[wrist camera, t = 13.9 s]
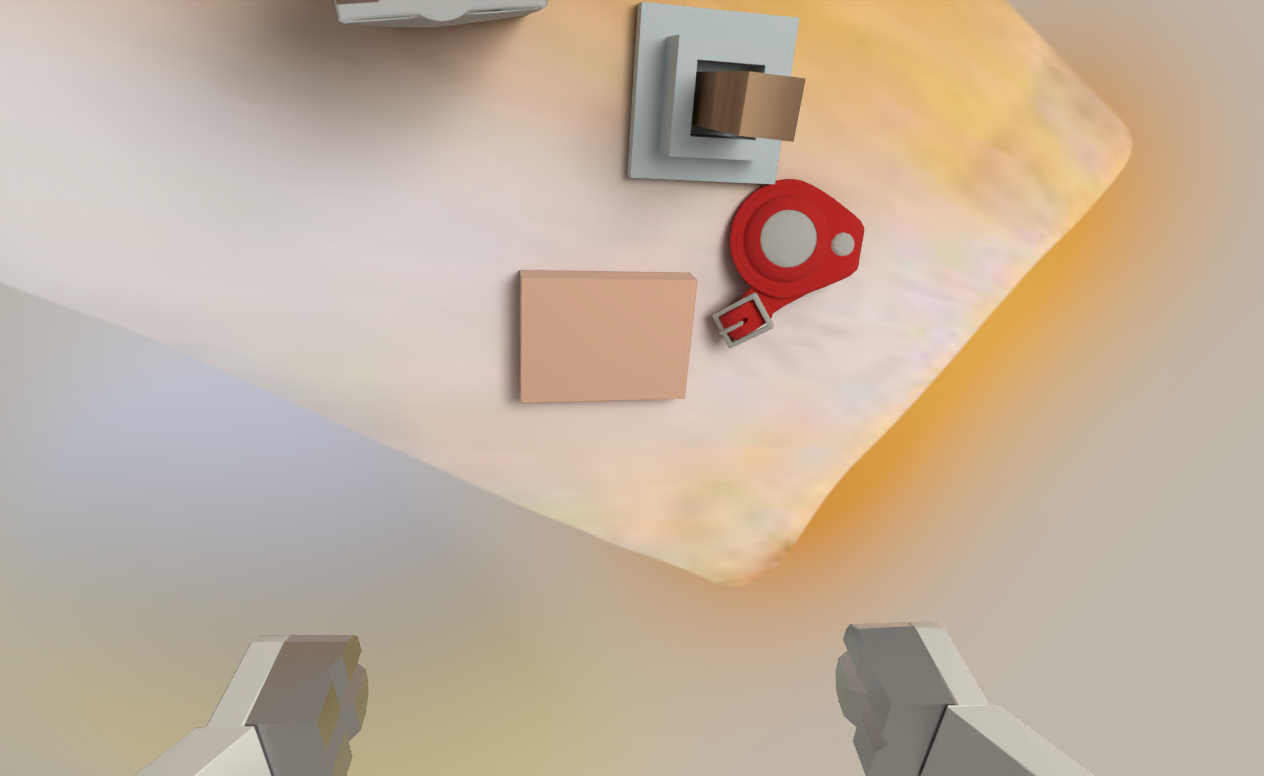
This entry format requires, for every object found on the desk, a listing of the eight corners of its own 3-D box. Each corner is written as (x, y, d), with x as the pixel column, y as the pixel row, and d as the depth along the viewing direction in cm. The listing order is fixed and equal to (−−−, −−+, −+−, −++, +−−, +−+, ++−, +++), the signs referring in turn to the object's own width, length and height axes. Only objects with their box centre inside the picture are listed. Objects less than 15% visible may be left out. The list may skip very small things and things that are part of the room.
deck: (519, 391, 51) (521, 402, 49) (519, 270, 47) (521, 277, 45) (677, 387, 53) (684, 398, 51) (689, 272, 50) (697, 280, 48)
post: (685, 123, 44) (739, 135, 35) (692, 71, 43) (749, 71, 34) (730, 127, 45) (793, 141, 36) (738, 77, 44) (805, 78, 35)
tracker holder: (734, 169, 46) (882, 185, 46) (726, 177, 51) (862, 192, 51) (711, 348, 48) (853, 364, 48) (705, 342, 53) (836, 356, 53)
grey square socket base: (627, 175, 46) (639, 183, 42) (637, 3, 42) (652, -3, 38) (768, 181, 48) (791, 190, 44) (791, 19, 44) (819, 14, 40)
